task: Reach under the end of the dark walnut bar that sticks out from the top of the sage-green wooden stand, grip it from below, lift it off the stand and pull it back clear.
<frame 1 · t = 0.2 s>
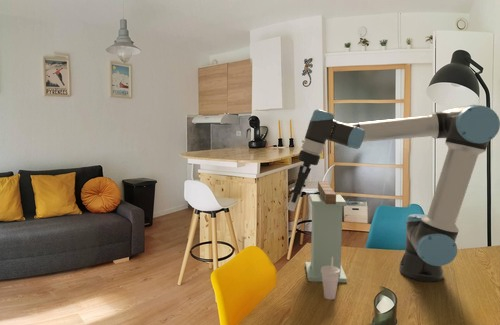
hand: (292, 205, 128), 27 cm above the table, tool tilted 15°, fingers open, 13 cm apart
smoothie: (329, 297, 115), on the table
walnut bar: (325, 196, 132), point 30 cm above the table, touching stand
stand: (324, 273, 133), on the table
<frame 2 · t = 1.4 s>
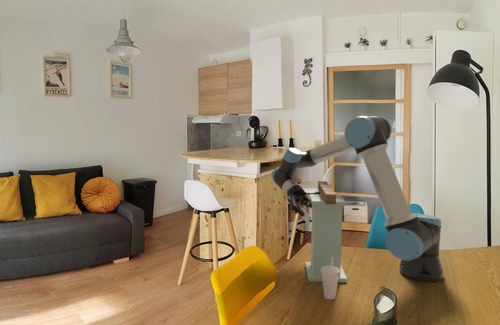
hand: (321, 221, 139), 18 cm above the table, tool tilted 65°, fingers open, 13 cm apart
nothing on the table moved.
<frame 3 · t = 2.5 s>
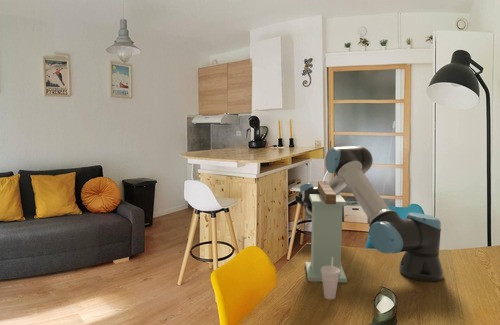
hand: (318, 194, 156), 26 cm above the table, tool pointing upward, fingers open, 13 cm apart
nothing on the table moved.
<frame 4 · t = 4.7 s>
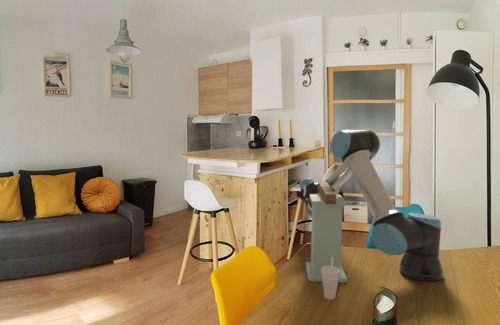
hand: (321, 188, 143), 31 cm above the table, tool pointing upward, fingers open, 13 cm apart
nothing on the table moved.
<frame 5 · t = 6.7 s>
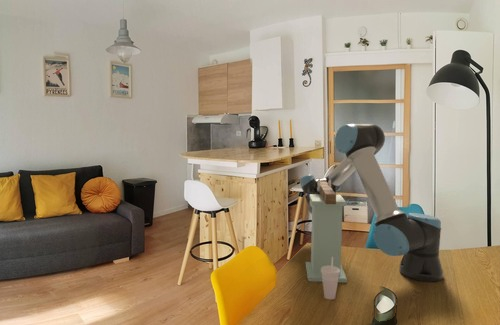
hand: (324, 182, 136), 34 cm above the table, tool pointing upward, fingers closed on walnut bar, 3 cm apart
walnut bar: (325, 196, 132), point 30 cm above the table, touching gripper, stand
everything else where it was.
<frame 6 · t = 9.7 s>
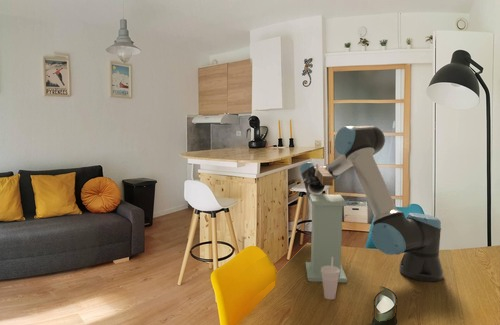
hand: (322, 167, 143), 40 cm above the table, tool pointing upward, fingers closed on walnut bar, 3 cm apart
walnut bar: (323, 179, 139), point 35 cm above the table, touching gripper
everything else where it was.
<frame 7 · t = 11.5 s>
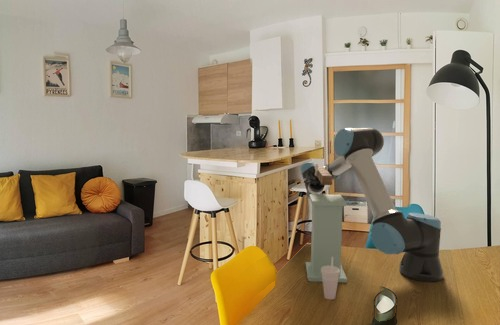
hand: (321, 167, 145), 39 cm above the table, tool pointing upward, fingers closed on walnut bar, 3 cm apart
walnut bar: (322, 179, 142), point 35 cm above the table, touching gripper
everything else where it was.
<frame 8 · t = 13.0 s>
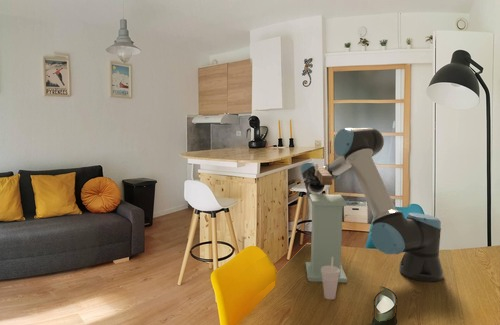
hand: (321, 167, 145), 39 cm above the table, tool pointing upward, fingers closed on walnut bar, 3 cm apart
walnut bar: (322, 179, 142), point 35 cm above the table, touching gripper
everything else where it was.
at the end: the gripper is holding walnut bar; walnut bar point 35.0 cm above the table; walnut bar touching gripper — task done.
